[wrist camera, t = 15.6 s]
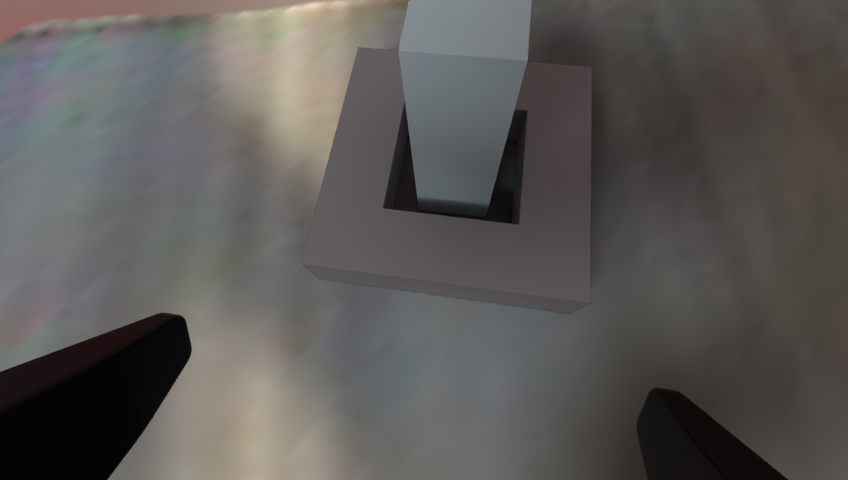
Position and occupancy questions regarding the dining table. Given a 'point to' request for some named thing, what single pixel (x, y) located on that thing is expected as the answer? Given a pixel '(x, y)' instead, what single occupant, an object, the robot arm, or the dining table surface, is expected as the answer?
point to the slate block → (461, 95)
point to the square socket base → (452, 236)
